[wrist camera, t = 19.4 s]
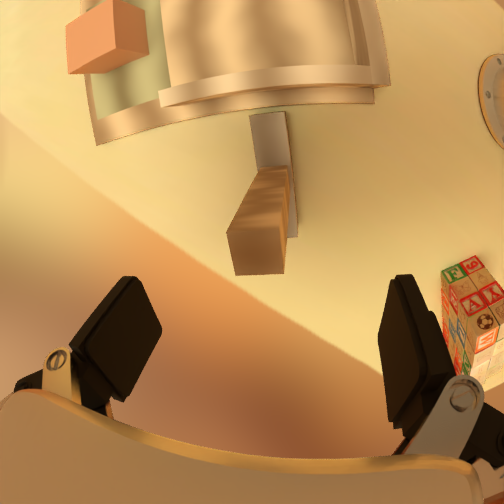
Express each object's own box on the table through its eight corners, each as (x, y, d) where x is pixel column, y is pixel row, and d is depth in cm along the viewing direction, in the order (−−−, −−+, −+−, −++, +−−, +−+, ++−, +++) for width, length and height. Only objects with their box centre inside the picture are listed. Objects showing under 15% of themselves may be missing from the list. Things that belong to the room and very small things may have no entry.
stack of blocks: (468, 345, 35) (489, 398, 25) (440, 358, 37) (457, 413, 27) (475, 253, 27) (520, 314, 16) (439, 270, 29) (478, 338, 18)
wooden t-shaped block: (285, 111, 23) (271, 117, 10) (297, 224, 29) (295, 339, 15) (254, 114, 24) (198, 128, 10) (270, 226, 30) (245, 339, 16)
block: (144, 10, 17) (112, -3, 12) (149, 54, 20) (115, 48, 15) (100, 31, 18) (65, 25, 13) (104, 73, 21) (68, 74, 16)
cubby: (333, -65, 10) (338, -92, 5) (371, 103, 21) (392, 104, 16) (85, -2, 16) (54, -9, 11) (101, 144, 27) (68, 156, 22)
